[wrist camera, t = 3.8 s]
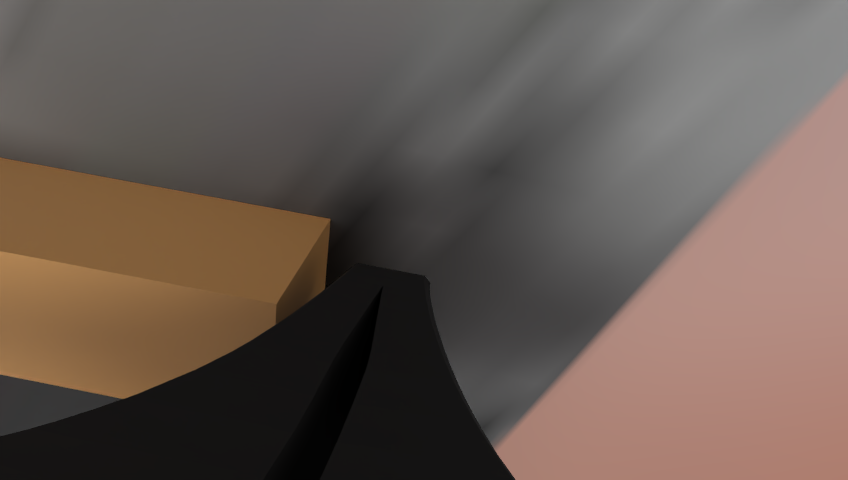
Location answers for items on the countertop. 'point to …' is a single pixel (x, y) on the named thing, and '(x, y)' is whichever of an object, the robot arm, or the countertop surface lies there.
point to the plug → (140, 277)
